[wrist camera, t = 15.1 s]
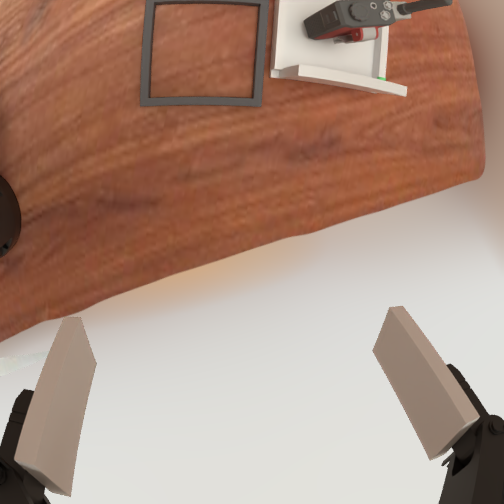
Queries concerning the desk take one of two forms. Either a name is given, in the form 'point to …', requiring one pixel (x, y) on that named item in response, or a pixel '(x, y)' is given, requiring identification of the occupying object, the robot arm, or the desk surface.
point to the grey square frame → (256, 99)
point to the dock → (326, 53)
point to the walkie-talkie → (361, 18)
